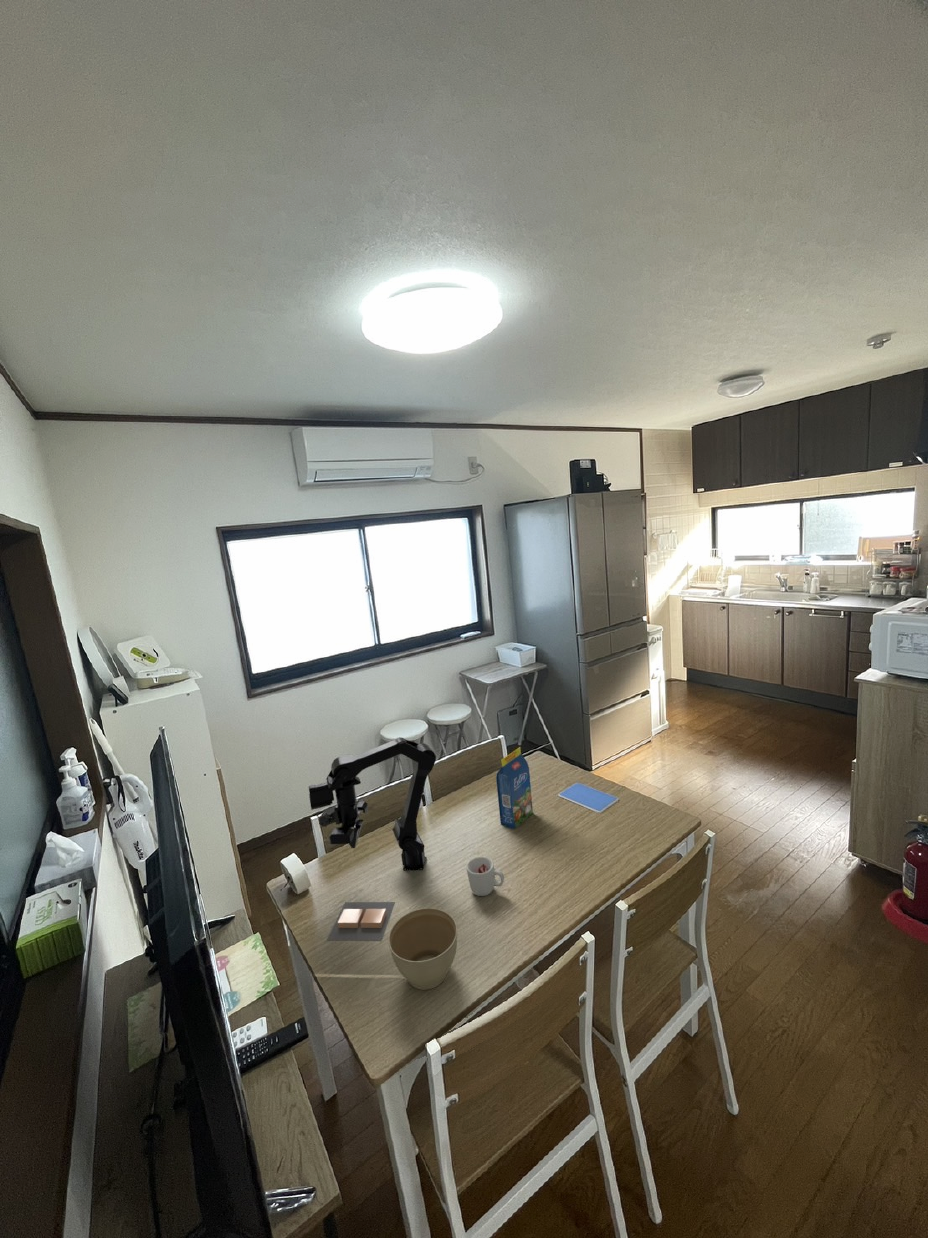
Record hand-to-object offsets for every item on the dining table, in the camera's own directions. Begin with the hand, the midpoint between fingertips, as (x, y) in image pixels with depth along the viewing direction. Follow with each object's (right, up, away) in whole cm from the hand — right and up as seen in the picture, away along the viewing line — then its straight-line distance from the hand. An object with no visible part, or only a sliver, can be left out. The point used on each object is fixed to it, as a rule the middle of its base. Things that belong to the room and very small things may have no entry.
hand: (353, 847), depth 152 cm
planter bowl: (+25, -15, -33) cm, 44 cm away
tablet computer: (+80, +1, +37) cm, 88 cm away
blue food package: (+52, -3, +28) cm, 60 cm away
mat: (+6, -14, -14) cm, 21 cm away
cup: (+40, -9, -7) cm, 42 cm away
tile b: (+3, -12, -12) cm, 17 cm away
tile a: (+9, -12, -13) cm, 20 cm away
